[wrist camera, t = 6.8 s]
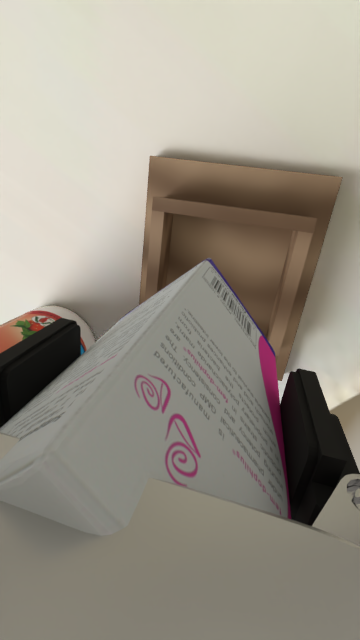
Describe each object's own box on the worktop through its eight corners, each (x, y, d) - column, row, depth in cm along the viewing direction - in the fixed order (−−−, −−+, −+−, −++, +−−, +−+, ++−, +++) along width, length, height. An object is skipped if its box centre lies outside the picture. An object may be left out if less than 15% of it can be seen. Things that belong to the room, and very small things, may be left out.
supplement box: (117, 320, 16) (-161, 555, 5) (210, 254, 13) (51, 436, 3) (182, 403, 17) (58, 745, 6) (279, 355, 14) (348, 768, 4)
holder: (154, 157, 26) (136, 149, 22) (338, 178, 23) (354, 173, 19) (139, 343, 33) (124, 361, 29) (280, 374, 30) (284, 399, 26)
